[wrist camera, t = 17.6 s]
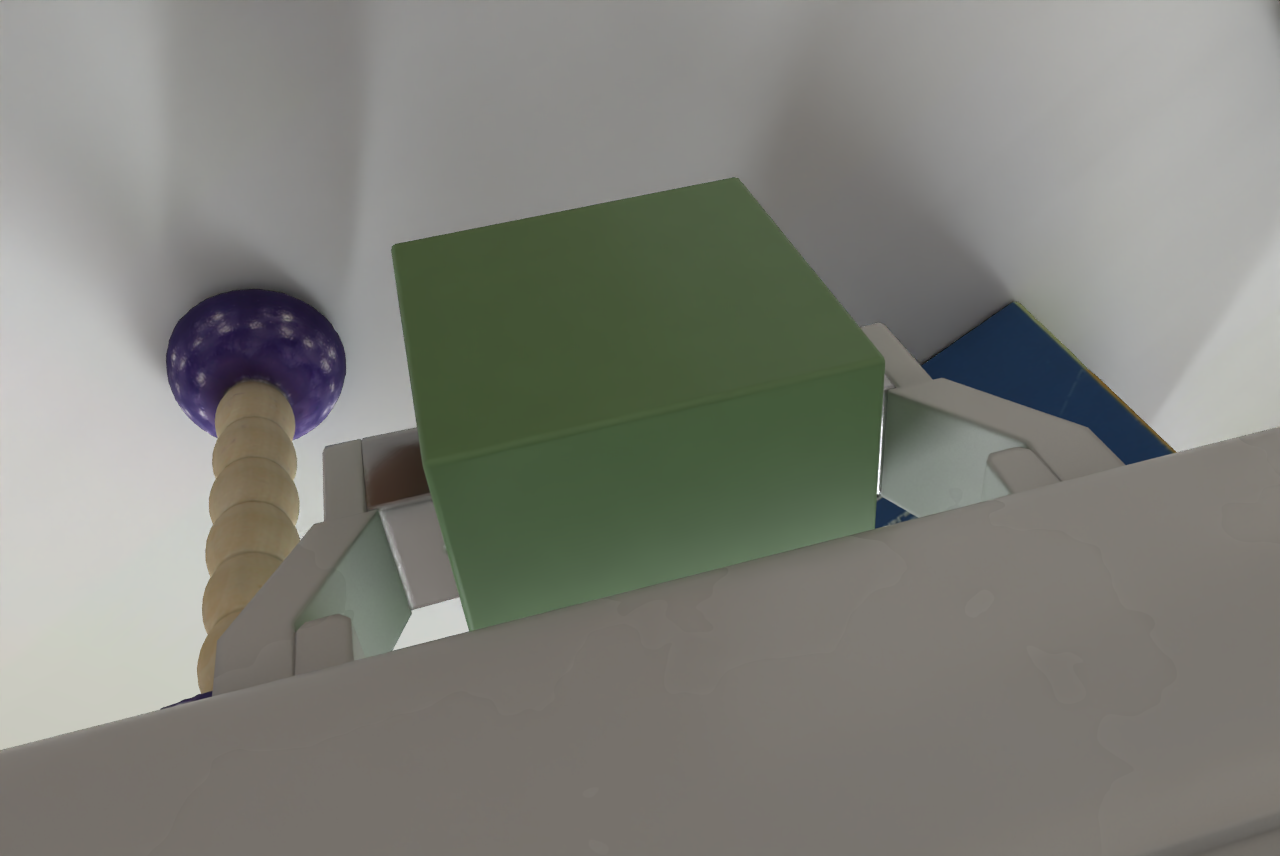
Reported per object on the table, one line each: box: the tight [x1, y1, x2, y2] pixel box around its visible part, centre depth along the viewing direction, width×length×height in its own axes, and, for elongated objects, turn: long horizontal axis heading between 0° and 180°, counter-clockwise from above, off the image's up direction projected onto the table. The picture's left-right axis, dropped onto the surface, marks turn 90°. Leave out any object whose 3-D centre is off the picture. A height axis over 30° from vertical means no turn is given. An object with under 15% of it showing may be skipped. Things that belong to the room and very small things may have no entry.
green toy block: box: [391, 177, 885, 631], centre depth 14 cm, size 5×5×5 cm
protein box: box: [875, 302, 1177, 529], centre depth 30 cm, size 10×15×16 cm
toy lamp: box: [160, 289, 346, 710], centre depth 20 cm, size 5×5×17 cm
